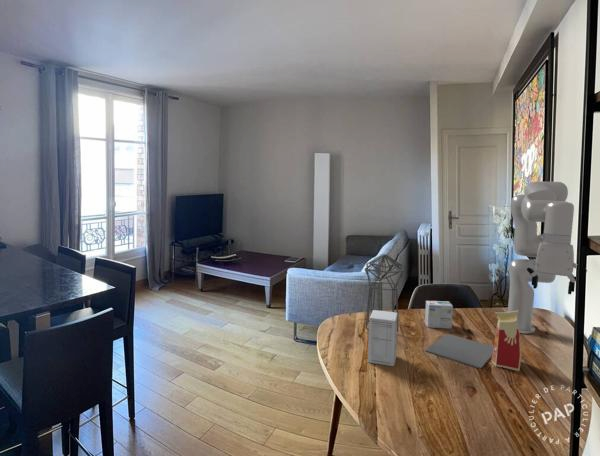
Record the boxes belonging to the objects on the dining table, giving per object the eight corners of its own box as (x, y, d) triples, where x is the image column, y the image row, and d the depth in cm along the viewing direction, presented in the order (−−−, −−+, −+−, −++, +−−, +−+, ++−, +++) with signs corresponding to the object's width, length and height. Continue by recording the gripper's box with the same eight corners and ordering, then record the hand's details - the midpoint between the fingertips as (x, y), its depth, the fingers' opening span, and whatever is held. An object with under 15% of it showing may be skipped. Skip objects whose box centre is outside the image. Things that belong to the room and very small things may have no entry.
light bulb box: (447, 323, 173) (449, 301, 172) (452, 329, 167) (453, 305, 165) (424, 322, 174) (425, 299, 173) (427, 327, 168) (428, 304, 166)
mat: (446, 334, 160) (446, 333, 160) (497, 349, 147) (498, 347, 147) (425, 351, 143) (425, 350, 143) (480, 369, 130) (480, 367, 130)
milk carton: (518, 360, 137) (522, 307, 135) (520, 371, 129) (525, 315, 127) (490, 355, 141) (494, 304, 139) (491, 365, 133) (495, 311, 131)
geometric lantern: (362, 341, 152) (364, 256, 148) (364, 328, 167) (366, 250, 164) (402, 345, 148) (405, 258, 145) (401, 331, 163) (404, 252, 160)
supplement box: (396, 355, 140) (398, 312, 138) (394, 367, 131) (396, 320, 129) (370, 351, 143) (372, 309, 141) (367, 362, 134) (368, 317, 132)
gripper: (524, 237, 125) (520, 287, 127) (589, 243, 114) (583, 298, 116) (528, 236, 131) (524, 283, 133) (590, 241, 120) (585, 293, 121)
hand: (552, 290), depth 124 cm, fingers open, 9 cm apart
